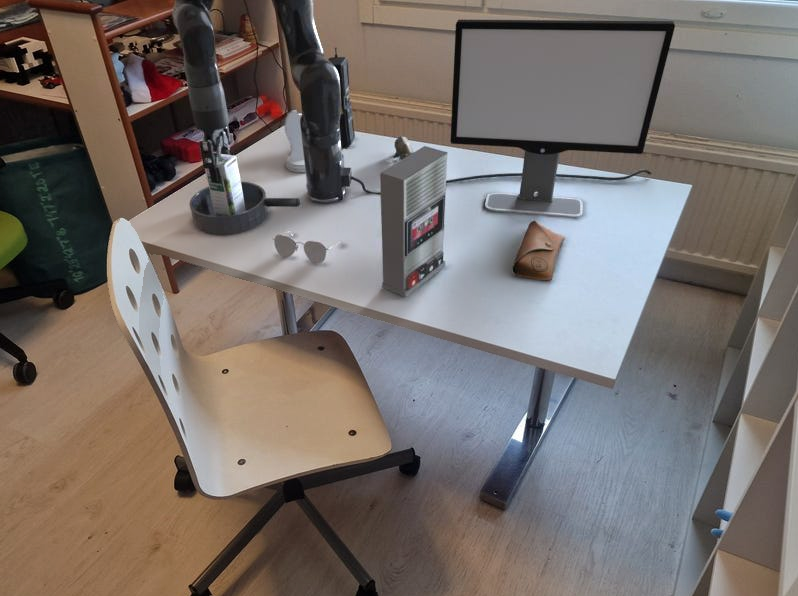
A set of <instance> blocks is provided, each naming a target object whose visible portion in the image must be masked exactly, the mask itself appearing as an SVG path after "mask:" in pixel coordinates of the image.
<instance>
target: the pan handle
mask: <svg viewBox="0 0 798 596" xmlns="http://www.w3.org/2000/svg"><path fill="white" fill-rule="evenodd" d="M264 204H265V206H267V207H268V208H272V207H273V208H278V207H279V208H299V207H300V206H301V204H302V201H301V199H300V198H299V197H266V199H265V201H264Z"/></svg>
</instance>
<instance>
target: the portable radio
mask: <svg viewBox="0 0 798 596" xmlns="http://www.w3.org/2000/svg"><path fill="white" fill-rule="evenodd" d="M337 49H338V47H334V52H335V53H334V56H332V57H329V58H327V59H328V60H329V61H330V62H331V63H332V64H333V65H334V66H335V68H336V69H337V71H338V75H339V80H340V92H341V117H340V120H339V122H340V138H341V148H350V147H351V145H352V144H353V142H354V140H355V138H356V134H355V128H354V127H355V125H354V117H353V106H352V102H351V100H350V89H351V88H350V86H351V85H350V73H349V60H348V58H347V56H339V55H338V53H337Z"/></svg>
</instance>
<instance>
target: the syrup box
mask: <svg viewBox="0 0 798 596" xmlns="http://www.w3.org/2000/svg"><path fill="white" fill-rule="evenodd" d="M214 158H215V157H214ZM237 159H238V157H237V155H234V154H233V155H232V154H230V155H225V154H221V157H220V158H219V170H220V175H221V182H220V183H212V182H211V177H210V172H209V168H204V172H205V174H206V175H205V176H206V179H207V180H206V181H207V185H208V187H209V189H210V194H211V199H212V203H213V208H214V213H215V216H228V215H234V214H238V213H241V212H244V211H246V209H245V203H244V197H243V192H242V186H241V181H242V180H241V176H240V170H239V166H238V160H237ZM206 161H207V158H206ZM210 162H211V159H210Z"/></svg>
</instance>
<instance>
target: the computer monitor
mask: <svg viewBox="0 0 798 596" xmlns="http://www.w3.org/2000/svg"><path fill="white" fill-rule="evenodd" d="M675 28H676V24H675V22H674V20H582V19H581V20H580V19H579V20H577V19H576V20H572V19H571V20H569V19H568V20H567V19H563V20H562V19H457V21H456V23H455V31H454V32H455V33H454V53H453V54H454V55H453V74H452V75H453V77H452V96H451V98H452V99H451V120H450V124H451V125H450V139H449V140H450V141H449V142H450V144H451V145H465V146H467V145H468V146H484V147H485V146H486V147H503V148H504V147H505V148H517V149H521V150H523V151H524V156H523V157H524V158H523V165H522V172H521V173H522V176H521V178H520V179H521V180H520V188H519V193H506V192H505V193H504V192H492V193H491V192H490V193H489V194H487V196H486V200H485V204H484V207H485V209H487V210H489V211H491V212H501V213H502V212H503V213H517V214H529V215H542V216H554V217H567V218H579V217H581V216H582V215H583V207H584V206H583V205H584V204H583V201H582V200H581V199H579V198H574V197H562V196H554V191H555V190H554V189H555V185H556V178H557V177H556V174H558V166H559V160H560V154H561V153H564V152H567V151H578V152H594V153H597V152H598V153H613V154H614V153H617V154H632V155H633V154H636V155H641V154H643V153H644V151H645V150H644V149H645V146H646V142H647V138H648V134H649V130H650V126H651V122H652V118H653V114H654V110H655V106H656V102H657V100H658V95H659V90H660V88H661V83H662V79H663V75H664V71H665V67H666V65H667V59H668V55H669V52H670V48H671V43H672V40H673V36H674V33H675Z"/></svg>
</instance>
